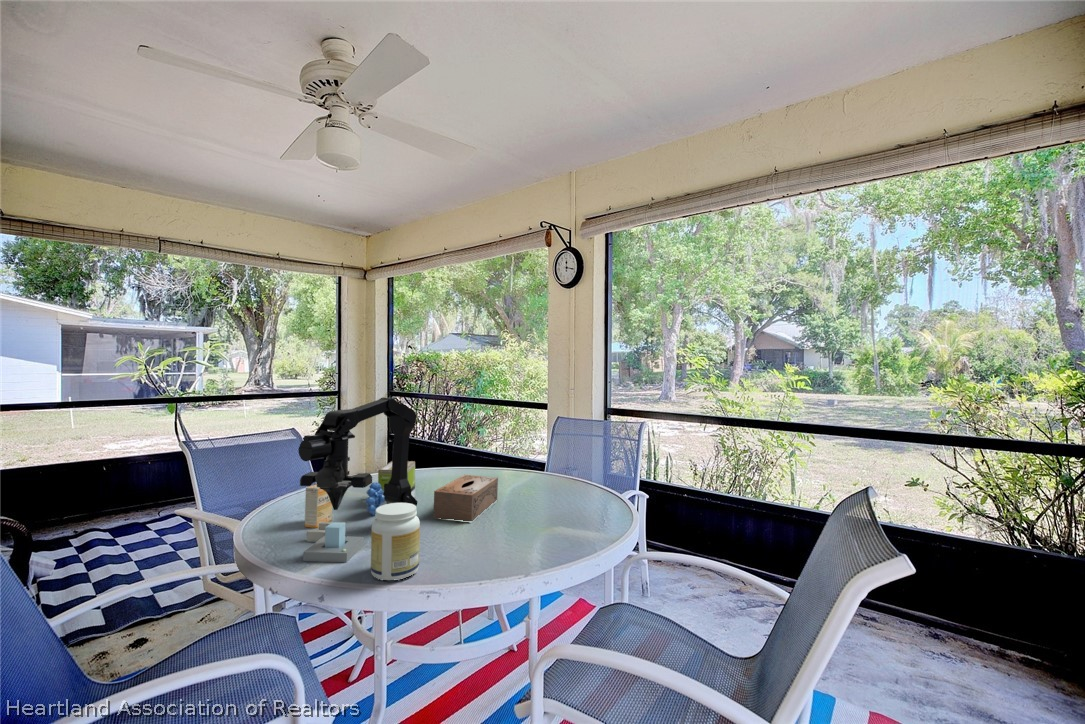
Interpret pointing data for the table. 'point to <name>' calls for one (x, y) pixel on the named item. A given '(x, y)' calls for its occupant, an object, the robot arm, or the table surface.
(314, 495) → the supplement box
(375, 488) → the grapes
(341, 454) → the robot arm
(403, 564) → the supplement tub
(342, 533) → the plug
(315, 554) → the socket
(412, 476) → the tea box
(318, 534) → the grey square frame
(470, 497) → the tissue box cover
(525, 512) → the table surface
